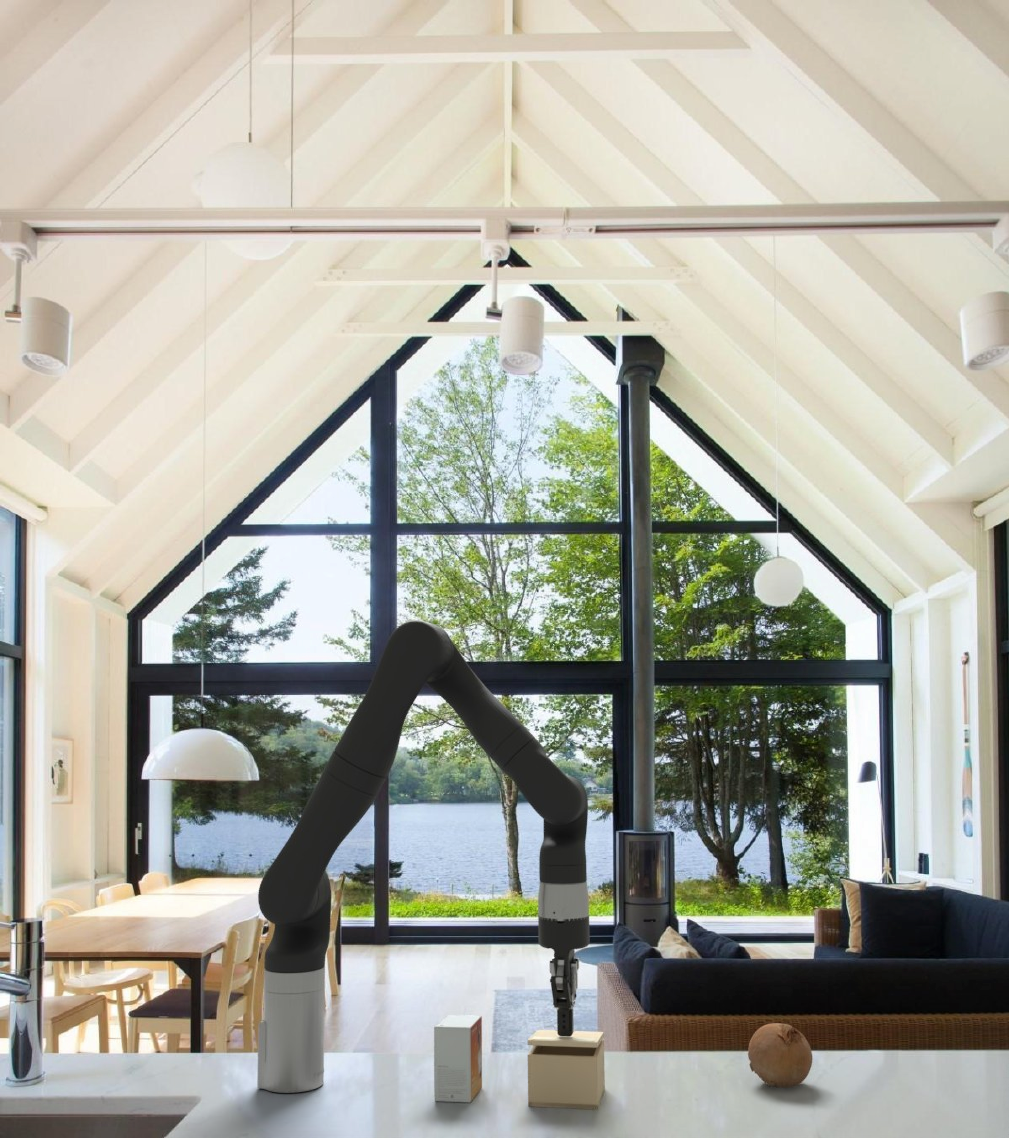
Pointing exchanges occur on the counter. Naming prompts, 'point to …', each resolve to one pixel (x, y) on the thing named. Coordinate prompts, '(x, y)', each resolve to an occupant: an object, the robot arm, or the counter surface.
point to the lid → (566, 1039)
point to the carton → (566, 1076)
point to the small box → (458, 1058)
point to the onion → (780, 1055)
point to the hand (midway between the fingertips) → (565, 1035)
